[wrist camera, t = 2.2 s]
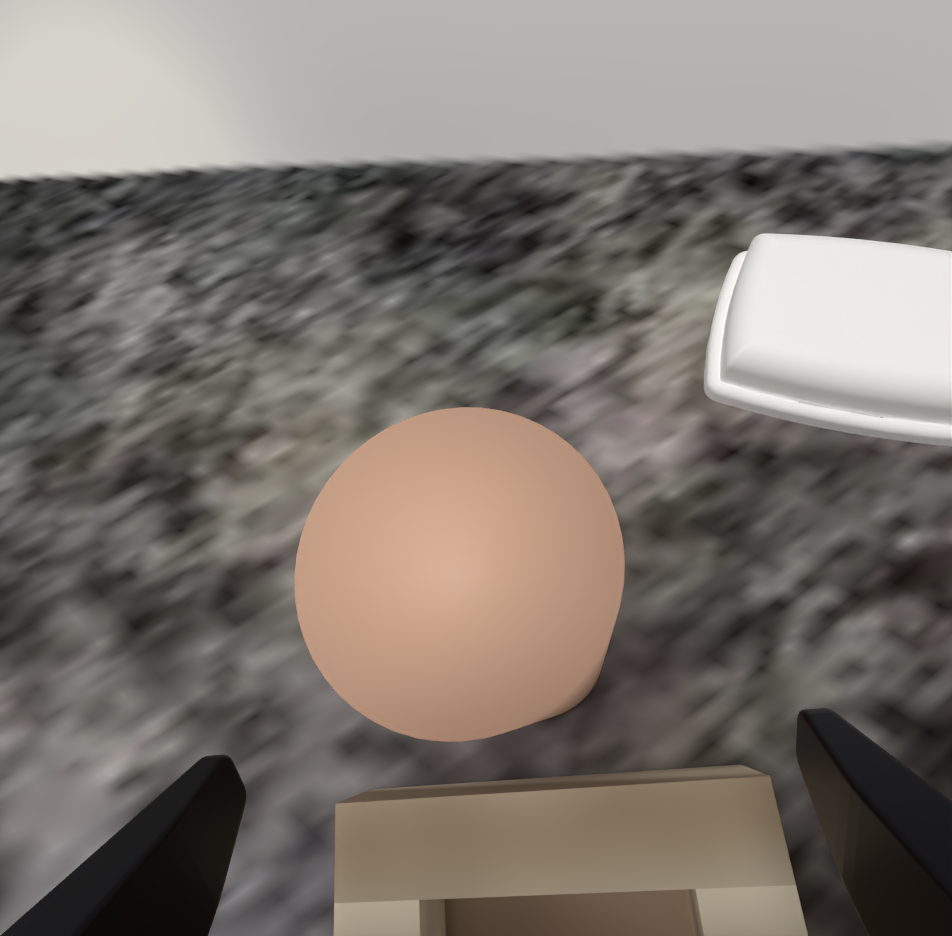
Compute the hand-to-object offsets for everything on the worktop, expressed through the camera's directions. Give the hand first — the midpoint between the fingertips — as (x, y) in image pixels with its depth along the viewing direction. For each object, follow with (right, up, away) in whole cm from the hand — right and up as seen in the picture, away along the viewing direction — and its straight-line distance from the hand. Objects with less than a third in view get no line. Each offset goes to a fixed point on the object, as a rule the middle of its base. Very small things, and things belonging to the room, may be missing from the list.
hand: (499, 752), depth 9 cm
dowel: (+2, -1, +10) cm, 10 cm away
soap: (+13, +9, +12) cm, 20 cm away
